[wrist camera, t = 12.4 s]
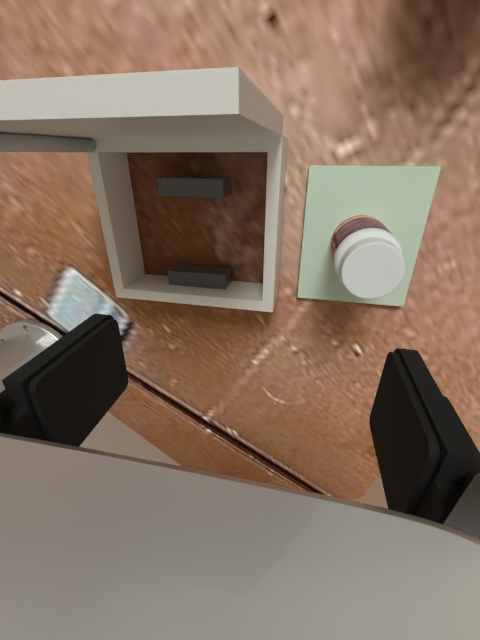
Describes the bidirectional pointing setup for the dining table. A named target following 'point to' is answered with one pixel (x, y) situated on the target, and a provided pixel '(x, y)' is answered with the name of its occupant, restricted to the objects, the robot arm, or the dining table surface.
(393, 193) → the mat
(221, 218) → the dining table surface
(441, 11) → the dining table surface
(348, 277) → the pill bottle
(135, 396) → the dining table surface
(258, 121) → the equipment case
